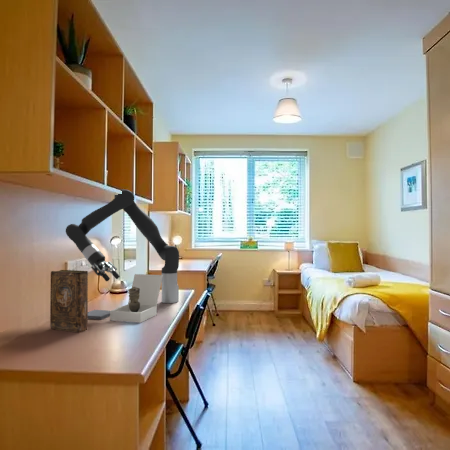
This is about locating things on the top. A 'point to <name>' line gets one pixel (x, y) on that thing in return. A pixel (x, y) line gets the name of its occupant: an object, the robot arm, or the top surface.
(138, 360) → the top surface
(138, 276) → the box
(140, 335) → the top surface
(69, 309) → the book
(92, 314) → the mat
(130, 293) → the twisted stone column
